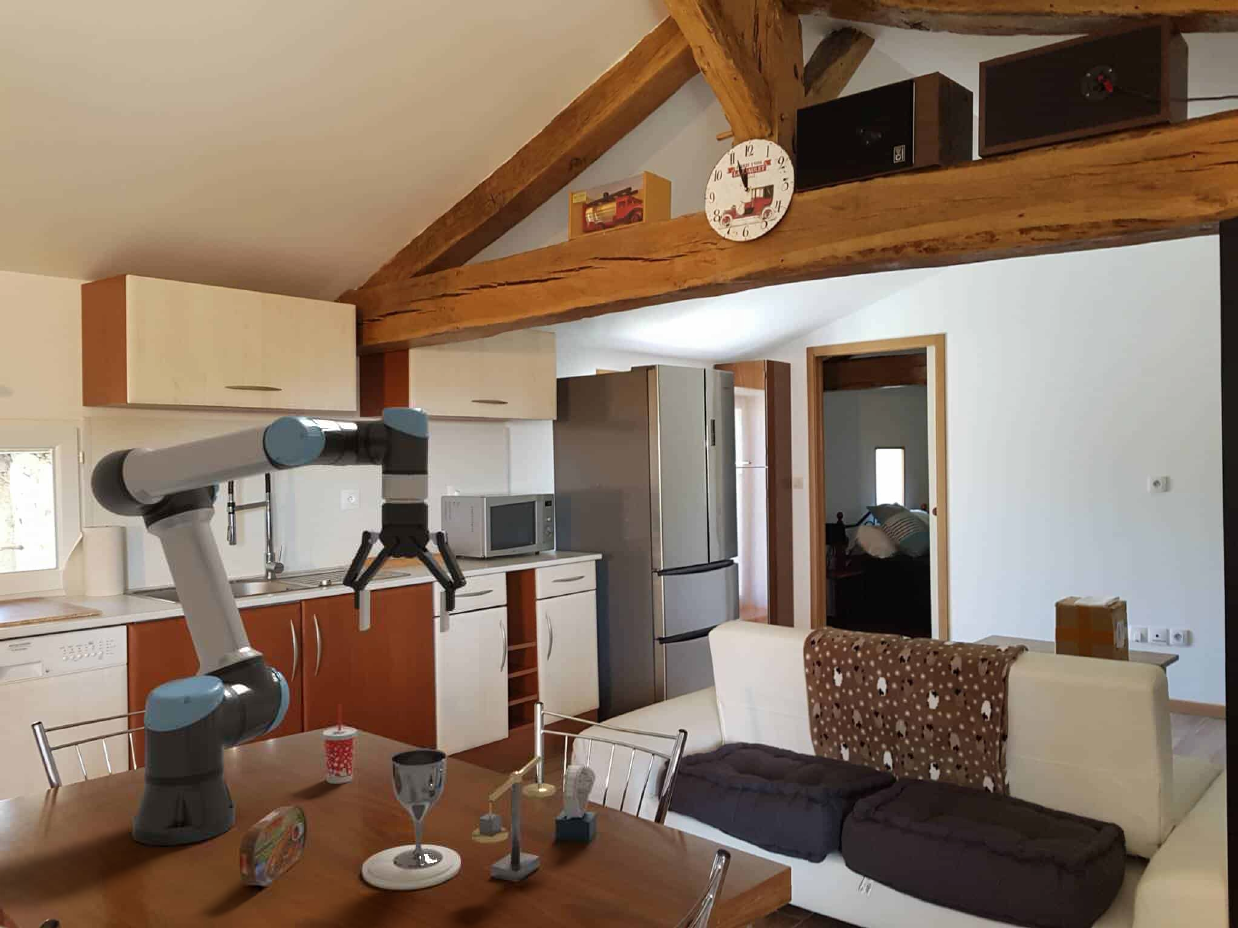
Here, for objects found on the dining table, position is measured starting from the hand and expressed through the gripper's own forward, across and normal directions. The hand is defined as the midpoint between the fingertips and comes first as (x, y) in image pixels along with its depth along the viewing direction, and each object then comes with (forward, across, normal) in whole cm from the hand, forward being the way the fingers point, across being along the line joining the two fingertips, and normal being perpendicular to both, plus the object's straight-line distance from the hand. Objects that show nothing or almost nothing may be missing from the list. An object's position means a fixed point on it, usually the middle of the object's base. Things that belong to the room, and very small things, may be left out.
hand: (404, 630), depth 159 cm
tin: (+32, +12, +21) cm, 40 cm away
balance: (+31, -23, +17) cm, 42 cm away
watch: (+32, -29, +3) cm, 43 cm away
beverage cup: (+32, +19, -20) cm, 42 cm away
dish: (+31, -7, +18) cm, 37 cm away
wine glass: (+30, -8, +17) cm, 36 cm away
